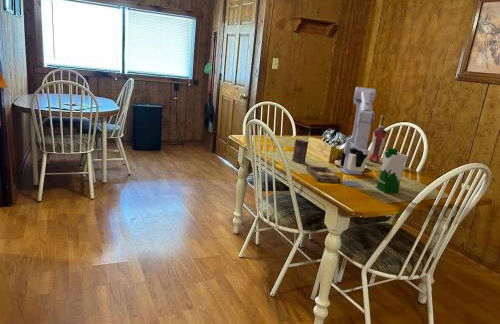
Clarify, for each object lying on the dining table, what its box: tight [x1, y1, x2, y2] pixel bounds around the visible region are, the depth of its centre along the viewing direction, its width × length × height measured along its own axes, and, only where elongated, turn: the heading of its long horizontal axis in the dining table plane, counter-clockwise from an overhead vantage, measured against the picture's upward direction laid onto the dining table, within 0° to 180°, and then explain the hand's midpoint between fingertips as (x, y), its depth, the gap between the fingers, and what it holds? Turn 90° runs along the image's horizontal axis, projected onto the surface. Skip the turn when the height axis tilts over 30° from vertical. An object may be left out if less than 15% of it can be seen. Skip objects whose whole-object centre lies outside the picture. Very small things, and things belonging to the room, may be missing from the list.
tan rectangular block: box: [316, 171, 337, 178], centre depth 175 cm, size 8×4×3 cm, turn 97°
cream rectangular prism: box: [346, 154, 368, 172], centre depth 169 cm, size 7×4×7 cm, turn 100°
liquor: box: [368, 115, 387, 163], centre depth 219 cm, size 7×7×28 cm
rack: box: [305, 165, 342, 184], centre depth 180 cm, size 11×18×2 cm, turn 10°
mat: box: [340, 180, 364, 188], centre depth 172 cm, size 8×7×1 cm
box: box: [292, 138, 309, 164], centre depth 199 cm, size 6×4×12 cm
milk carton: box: [375, 147, 409, 194], centre depth 167 cm, size 9×9×20 cm
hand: (355, 165), depth 170 cm, fingers closed on cream rectangular prism, 4 cm apart
